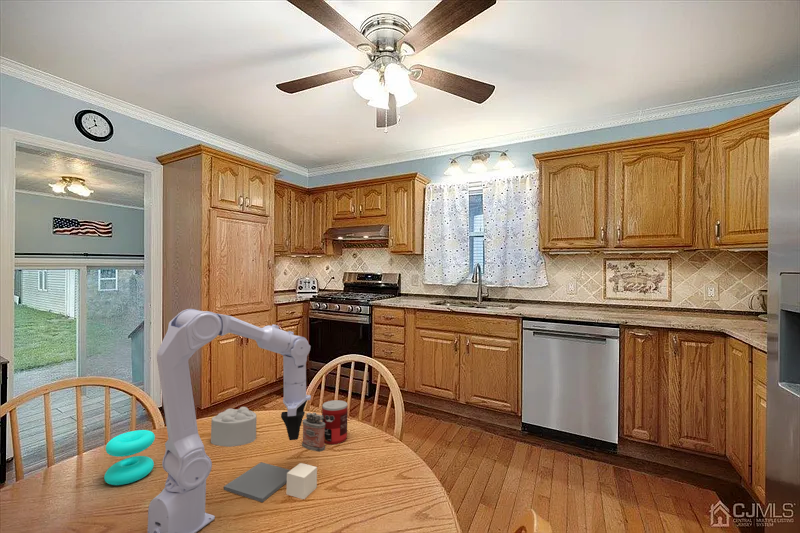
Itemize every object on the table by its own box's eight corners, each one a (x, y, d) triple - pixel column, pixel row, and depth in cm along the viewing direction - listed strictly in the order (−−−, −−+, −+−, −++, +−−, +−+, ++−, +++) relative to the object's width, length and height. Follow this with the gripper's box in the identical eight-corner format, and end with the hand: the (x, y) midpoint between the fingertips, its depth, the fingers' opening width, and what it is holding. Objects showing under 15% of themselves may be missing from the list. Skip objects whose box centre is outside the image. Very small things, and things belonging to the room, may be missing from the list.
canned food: (319, 436, 111) (320, 402, 111) (343, 431, 114) (343, 398, 115) (324, 446, 104) (325, 410, 104) (349, 441, 107) (350, 406, 108)
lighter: (299, 446, 104) (300, 413, 104) (307, 441, 107) (307, 409, 107) (319, 452, 100) (320, 418, 101) (327, 447, 103) (328, 414, 104)
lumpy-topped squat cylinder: (229, 429, 115) (230, 403, 115) (263, 433, 112) (264, 407, 113) (205, 444, 105) (206, 415, 105) (243, 448, 102) (243, 419, 103)
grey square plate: (262, 502, 78) (262, 498, 78) (223, 489, 82) (223, 486, 82) (296, 474, 89) (296, 471, 89) (260, 465, 93) (261, 462, 93)
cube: (303, 499, 79) (304, 477, 79) (286, 494, 81) (286, 473, 81) (316, 487, 84) (317, 467, 84) (299, 483, 85) (300, 462, 86)
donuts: (97, 448, 82) (117, 430, 91) (95, 491, 81) (115, 468, 91) (146, 442, 85) (160, 426, 94) (144, 483, 84) (159, 463, 94)
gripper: (308, 388, 84) (309, 444, 84) (312, 371, 98) (312, 419, 98) (278, 391, 83) (279, 447, 83) (286, 373, 97) (287, 421, 97)
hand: (295, 432), depth 90 cm, fingers open, 7 cm apart
